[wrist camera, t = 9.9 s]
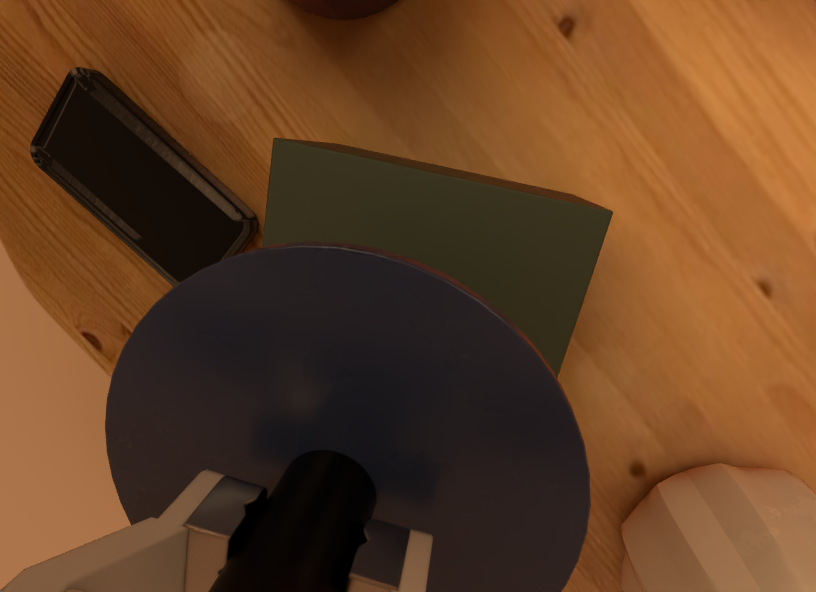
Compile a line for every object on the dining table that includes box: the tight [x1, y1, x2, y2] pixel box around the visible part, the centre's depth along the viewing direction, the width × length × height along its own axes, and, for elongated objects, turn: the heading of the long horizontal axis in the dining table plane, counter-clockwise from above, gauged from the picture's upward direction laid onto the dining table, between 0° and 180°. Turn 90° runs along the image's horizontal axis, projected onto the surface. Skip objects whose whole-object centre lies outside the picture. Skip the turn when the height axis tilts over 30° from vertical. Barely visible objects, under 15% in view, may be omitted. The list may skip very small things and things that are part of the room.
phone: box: [30, 67, 258, 286], centre depth 32 cm, size 8×1×15 cm
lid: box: [105, 241, 591, 592], centre depth 10 cm, size 12×12×5 cm
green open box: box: [262, 138, 613, 378], centre depth 27 cm, size 15×15×9 cm
